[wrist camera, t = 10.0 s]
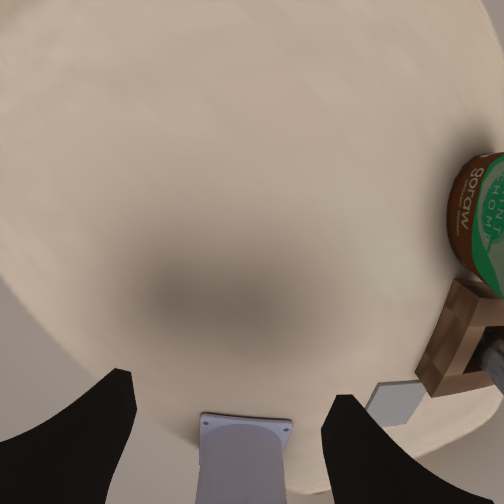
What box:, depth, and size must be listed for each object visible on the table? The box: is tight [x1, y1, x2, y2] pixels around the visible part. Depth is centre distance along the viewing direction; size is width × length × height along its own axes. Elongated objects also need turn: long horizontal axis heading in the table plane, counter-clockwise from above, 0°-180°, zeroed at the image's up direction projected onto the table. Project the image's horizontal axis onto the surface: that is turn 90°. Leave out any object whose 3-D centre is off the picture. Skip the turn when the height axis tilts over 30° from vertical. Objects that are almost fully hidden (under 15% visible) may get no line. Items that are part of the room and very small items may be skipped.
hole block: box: [415, 279, 504, 398], centre depth 18 cm, size 9×9×4 cm
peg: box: [471, 326, 504, 395], centre depth 16 cm, size 3×3×9 cm
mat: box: [365, 380, 426, 427], centre depth 22 cm, size 6×6×1 cm
